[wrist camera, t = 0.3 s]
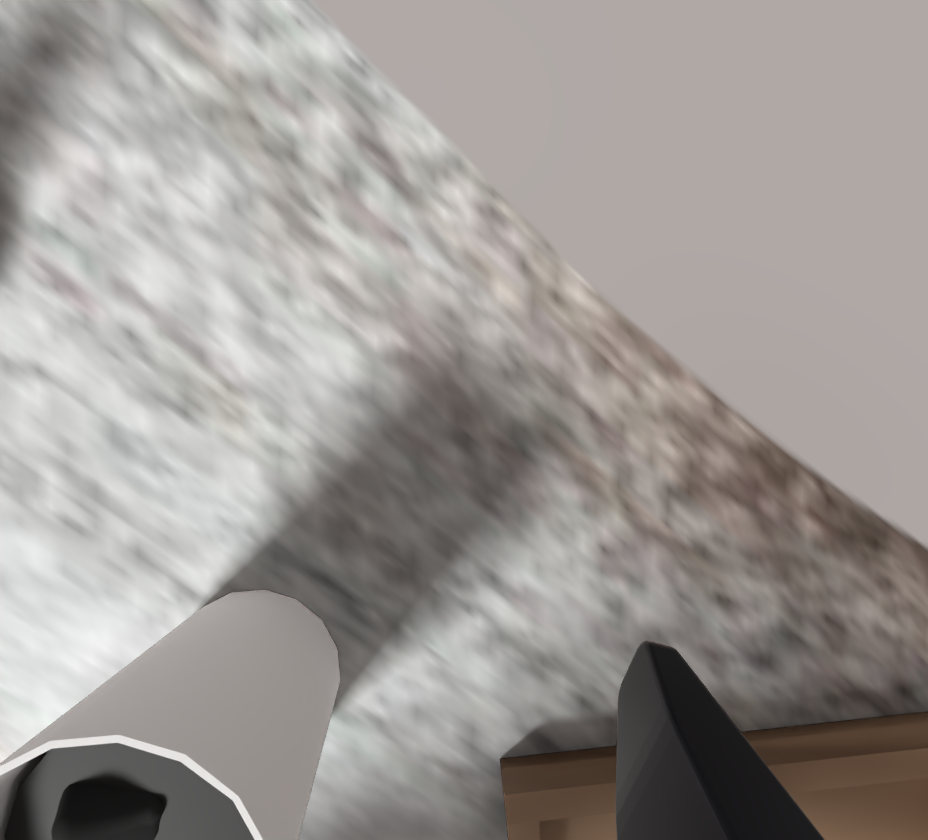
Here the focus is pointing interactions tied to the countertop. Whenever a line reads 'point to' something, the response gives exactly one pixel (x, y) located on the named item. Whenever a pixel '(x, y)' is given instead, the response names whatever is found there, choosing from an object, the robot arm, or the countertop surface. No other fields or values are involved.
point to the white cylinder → (188, 735)
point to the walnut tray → (784, 752)
